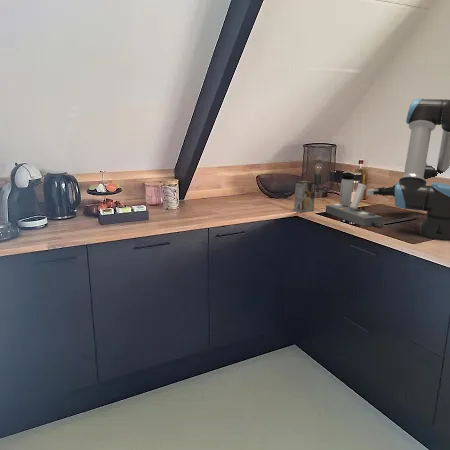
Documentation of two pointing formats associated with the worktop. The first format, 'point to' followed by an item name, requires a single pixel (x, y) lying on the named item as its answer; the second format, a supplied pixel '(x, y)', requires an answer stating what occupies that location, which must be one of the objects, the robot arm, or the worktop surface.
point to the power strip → (354, 215)
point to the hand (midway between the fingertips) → (367, 192)
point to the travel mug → (346, 188)
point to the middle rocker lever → (357, 196)
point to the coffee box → (304, 196)
